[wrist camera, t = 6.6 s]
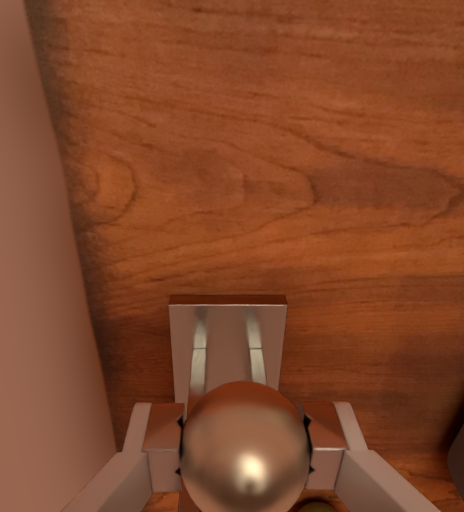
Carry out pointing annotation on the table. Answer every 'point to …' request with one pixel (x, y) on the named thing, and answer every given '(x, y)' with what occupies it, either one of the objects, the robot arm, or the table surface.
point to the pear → (316, 507)
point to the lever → (244, 450)
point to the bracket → (223, 347)
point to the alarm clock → (457, 461)
